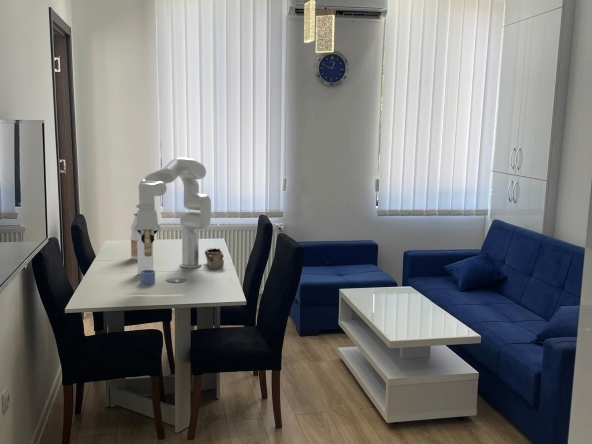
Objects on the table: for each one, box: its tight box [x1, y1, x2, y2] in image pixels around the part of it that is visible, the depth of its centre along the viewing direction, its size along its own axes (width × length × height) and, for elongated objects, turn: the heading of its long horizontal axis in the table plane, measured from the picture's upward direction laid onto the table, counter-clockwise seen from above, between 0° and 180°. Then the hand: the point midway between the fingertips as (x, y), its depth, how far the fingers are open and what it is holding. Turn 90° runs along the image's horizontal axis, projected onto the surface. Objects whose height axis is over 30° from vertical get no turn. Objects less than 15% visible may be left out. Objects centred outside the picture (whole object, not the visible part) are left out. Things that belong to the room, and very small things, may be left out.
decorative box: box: [204, 247, 225, 270], centre depth 361 cm, size 13×20×10 cm, turn 11°
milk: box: [137, 240, 154, 275], centre depth 336 cm, size 6×6×22 cm
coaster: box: [165, 277, 188, 284], centre depth 325 cm, size 11×11×1 cm
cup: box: [140, 269, 156, 286], centre depth 318 cm, size 7×7×7 cm
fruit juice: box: [130, 212, 141, 261], centre depth 372 cm, size 9×9×28 cm
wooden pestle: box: [144, 230, 152, 256], centre depth 315 cm, size 4×4×18 cm
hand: (147, 242), depth 315 cm, fingers closed on wooden pestle, 3 cm apart
